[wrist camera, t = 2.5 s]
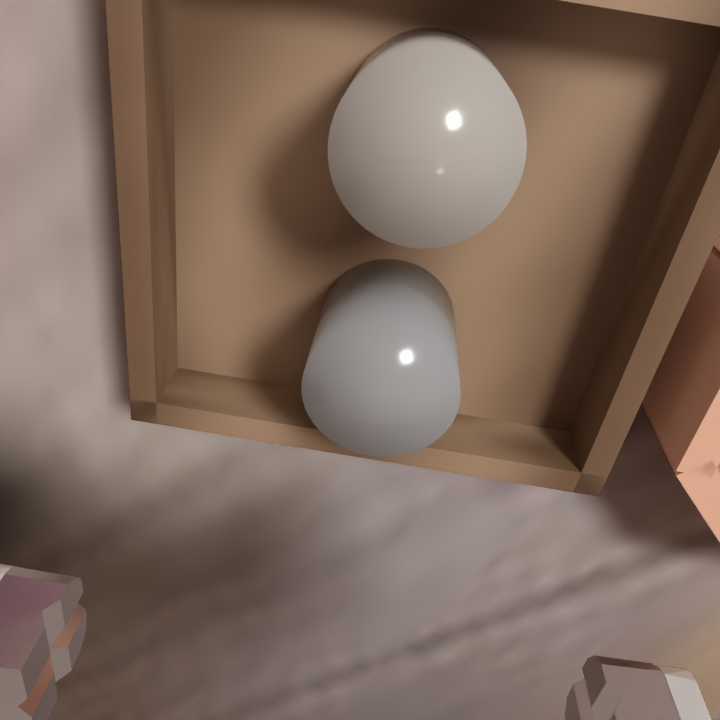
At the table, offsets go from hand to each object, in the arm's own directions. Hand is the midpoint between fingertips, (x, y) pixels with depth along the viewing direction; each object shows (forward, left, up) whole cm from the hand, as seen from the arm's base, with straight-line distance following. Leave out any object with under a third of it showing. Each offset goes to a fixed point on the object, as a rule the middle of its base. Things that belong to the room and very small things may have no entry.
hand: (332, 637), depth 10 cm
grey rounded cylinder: (0, 0, -11) cm, 11 cm away
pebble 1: (0, -6, -11) cm, 12 cm away
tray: (0, -3, -12) cm, 12 cm away
